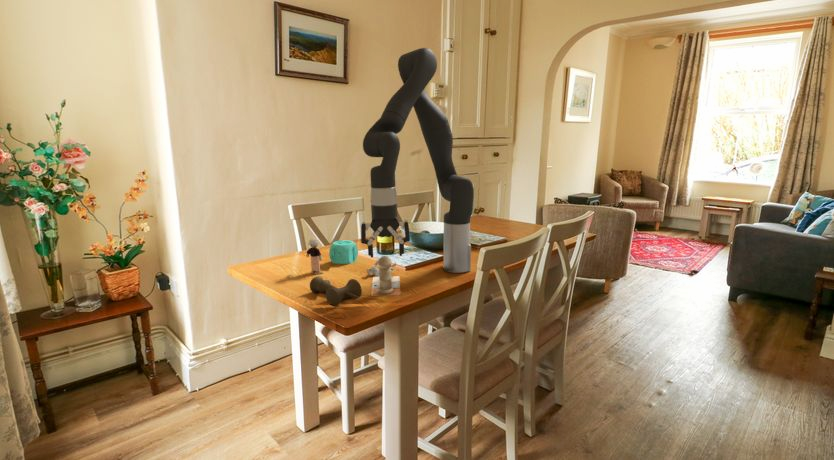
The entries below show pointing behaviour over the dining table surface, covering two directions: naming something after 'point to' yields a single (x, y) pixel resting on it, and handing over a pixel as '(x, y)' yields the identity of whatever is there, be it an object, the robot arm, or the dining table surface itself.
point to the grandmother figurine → (314, 256)
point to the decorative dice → (343, 252)
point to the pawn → (385, 275)
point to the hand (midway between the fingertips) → (386, 256)
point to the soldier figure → (377, 269)
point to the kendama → (336, 290)
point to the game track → (395, 284)
